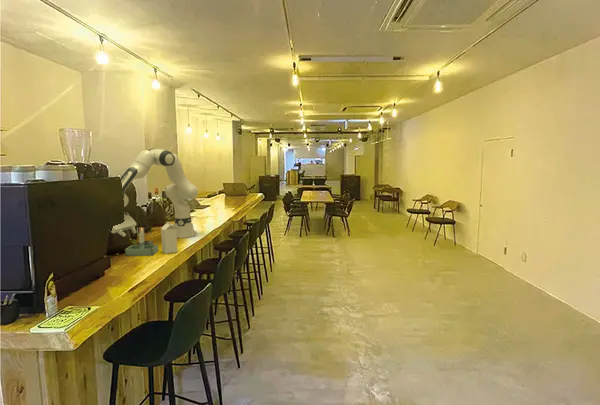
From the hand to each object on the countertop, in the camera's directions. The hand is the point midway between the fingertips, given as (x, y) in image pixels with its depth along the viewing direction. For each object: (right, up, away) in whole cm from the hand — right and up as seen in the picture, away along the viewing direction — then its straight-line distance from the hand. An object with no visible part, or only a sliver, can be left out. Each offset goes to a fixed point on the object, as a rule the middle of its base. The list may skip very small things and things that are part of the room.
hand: (130, 234), depth 228 cm
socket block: (+6, -11, +9) cm, 15 cm away
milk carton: (+23, -12, +3) cm, 26 cm away
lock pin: (+7, -11, 0) cm, 13 cm away
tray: (+7, -12, 0) cm, 14 cm away
